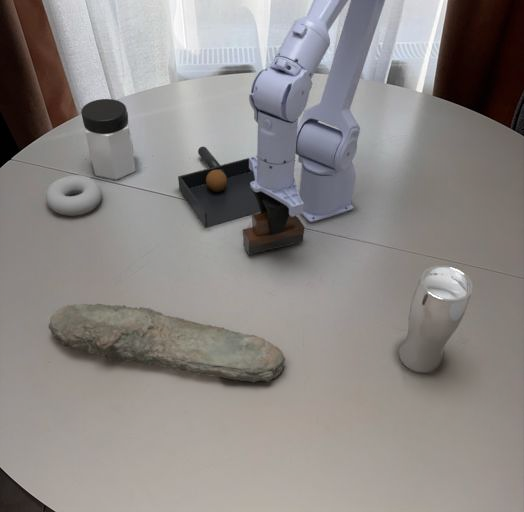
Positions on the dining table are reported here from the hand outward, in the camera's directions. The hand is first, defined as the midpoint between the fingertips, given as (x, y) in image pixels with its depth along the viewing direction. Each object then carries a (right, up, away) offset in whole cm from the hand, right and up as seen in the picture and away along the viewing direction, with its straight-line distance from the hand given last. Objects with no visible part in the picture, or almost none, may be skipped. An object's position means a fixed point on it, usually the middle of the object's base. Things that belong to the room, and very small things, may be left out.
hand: (273, 227), depth 97 cm
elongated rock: (-16, -21, -12) cm, 29 cm away
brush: (0, -2, +3) cm, 3 cm away
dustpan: (-9, +11, +15) cm, 21 cm away
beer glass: (+21, -22, -12) cm, 33 cm away
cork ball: (-10, +11, +12) cm, 19 cm away
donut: (-36, +7, +10) cm, 38 cm away
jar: (-31, +15, +18) cm, 39 cm away
